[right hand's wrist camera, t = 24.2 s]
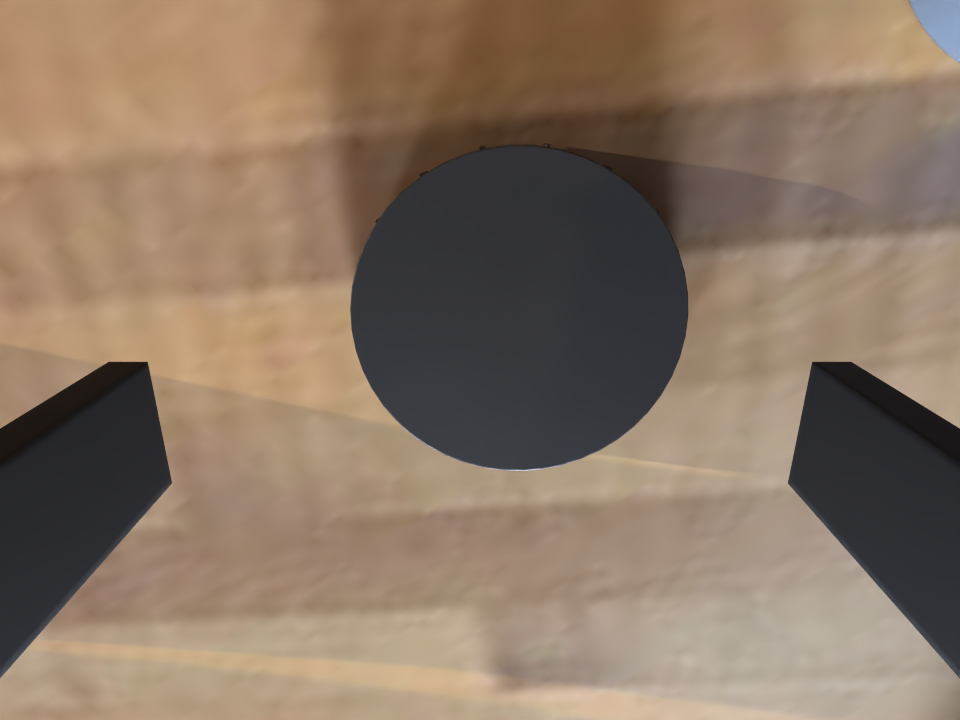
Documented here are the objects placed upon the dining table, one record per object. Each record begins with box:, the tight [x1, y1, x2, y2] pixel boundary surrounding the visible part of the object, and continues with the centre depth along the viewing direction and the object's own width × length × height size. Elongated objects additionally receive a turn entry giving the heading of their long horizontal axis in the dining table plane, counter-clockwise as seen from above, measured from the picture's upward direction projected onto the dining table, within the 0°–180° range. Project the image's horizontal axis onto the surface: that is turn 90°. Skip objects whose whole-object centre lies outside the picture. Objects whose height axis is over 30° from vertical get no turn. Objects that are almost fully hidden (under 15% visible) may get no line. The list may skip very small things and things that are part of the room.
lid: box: [350, 144, 688, 471], centre depth 21 cm, size 11×11×2 cm
